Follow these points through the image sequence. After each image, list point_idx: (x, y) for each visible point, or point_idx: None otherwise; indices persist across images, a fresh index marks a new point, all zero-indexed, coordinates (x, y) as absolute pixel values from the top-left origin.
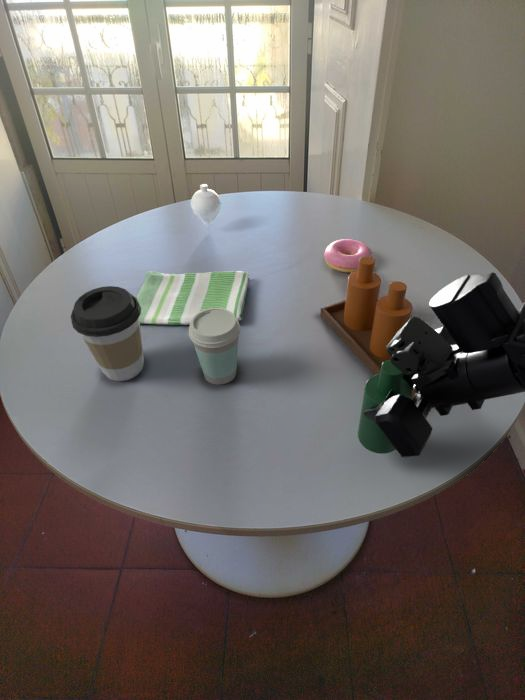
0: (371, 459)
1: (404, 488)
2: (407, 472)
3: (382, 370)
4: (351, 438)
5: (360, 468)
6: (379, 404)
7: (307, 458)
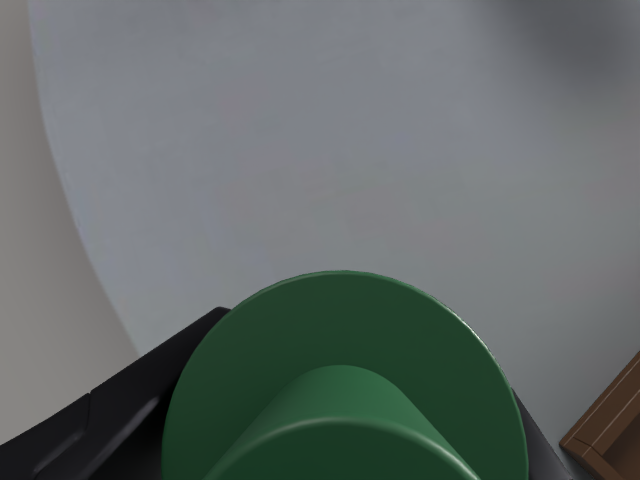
0: None
1: None
2: None
3: (243, 443)
4: None
5: None
6: (136, 414)
7: (262, 182)
